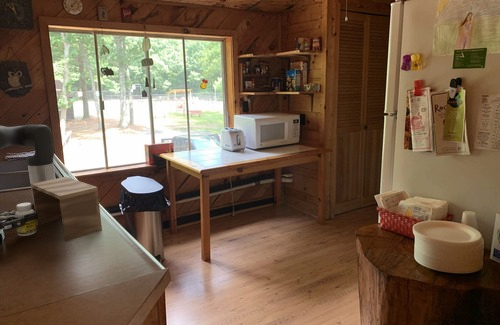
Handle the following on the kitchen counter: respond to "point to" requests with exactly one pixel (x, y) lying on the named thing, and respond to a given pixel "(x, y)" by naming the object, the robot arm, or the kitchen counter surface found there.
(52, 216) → the cubby
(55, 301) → the kitchen counter surface
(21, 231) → the supplement bottle
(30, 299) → the kitchen counter surface
